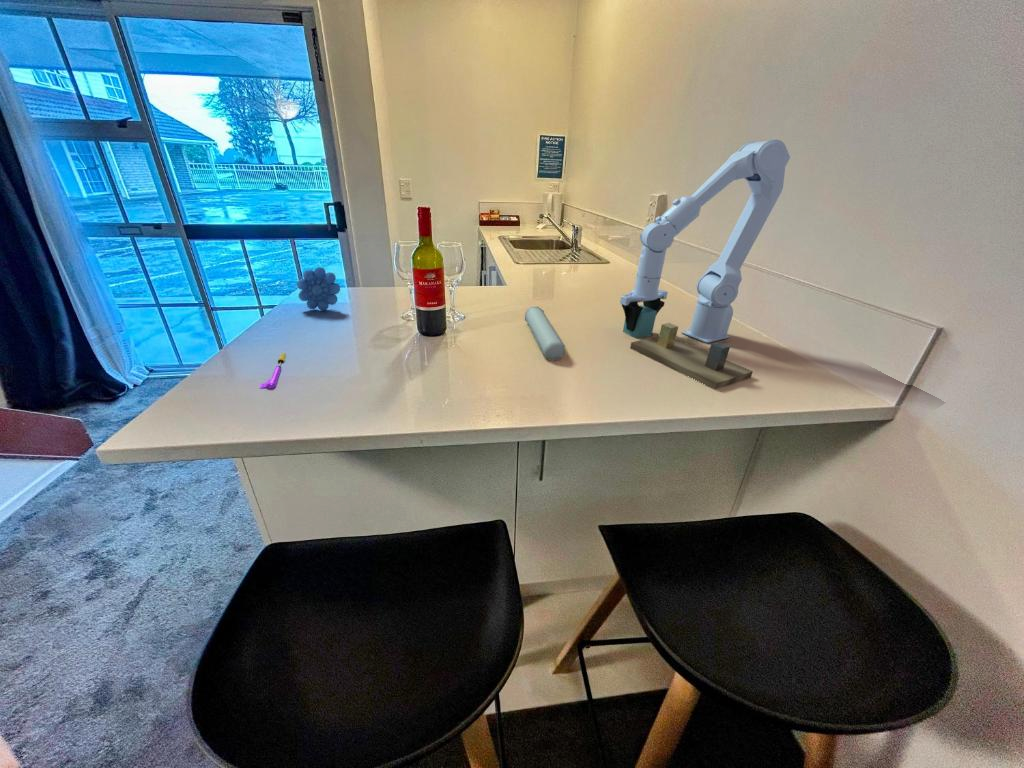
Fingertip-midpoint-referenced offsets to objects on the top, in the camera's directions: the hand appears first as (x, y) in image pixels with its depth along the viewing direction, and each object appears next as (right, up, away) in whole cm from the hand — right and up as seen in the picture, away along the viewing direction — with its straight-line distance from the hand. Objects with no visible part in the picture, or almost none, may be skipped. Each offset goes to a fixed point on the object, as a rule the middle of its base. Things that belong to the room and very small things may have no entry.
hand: (638, 328), depth 104 cm
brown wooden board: (+6, -9, -14) cm, 18 cm away
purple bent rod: (-80, -12, -25) cm, 85 cm away
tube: (-25, -4, -6) cm, 26 cm away
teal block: (0, -1, +1) cm, 1 cm away
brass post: (+3, -5, -10) cm, 12 cm away
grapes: (-86, +6, +8) cm, 86 cm away
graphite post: (+10, -11, -20) cm, 25 cm away
